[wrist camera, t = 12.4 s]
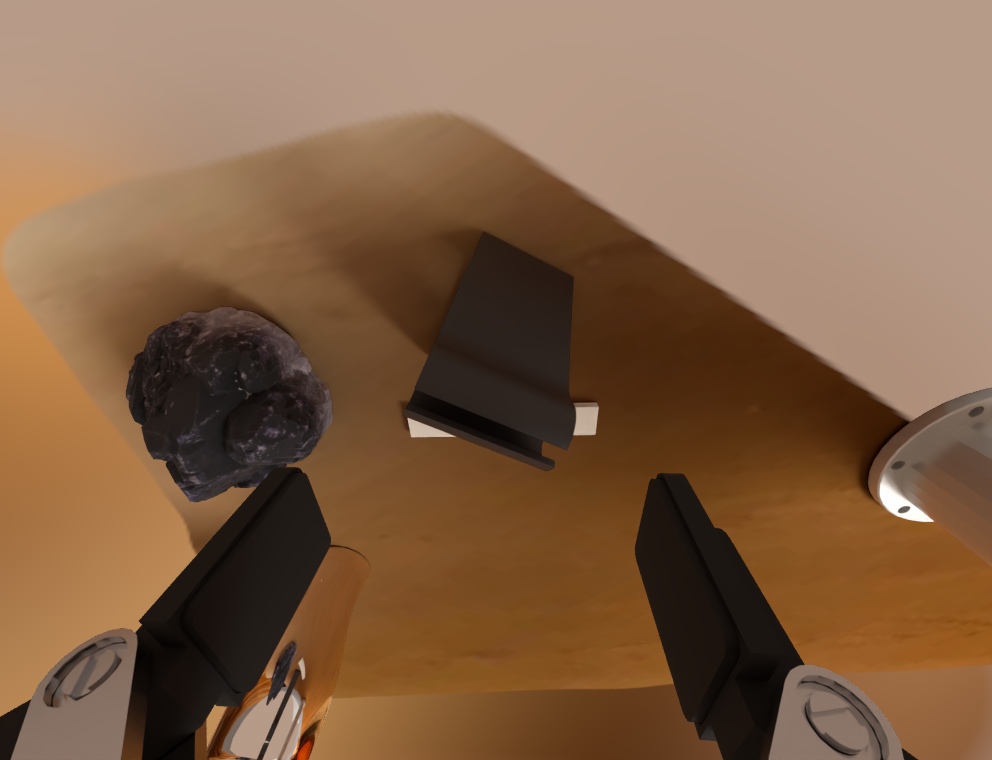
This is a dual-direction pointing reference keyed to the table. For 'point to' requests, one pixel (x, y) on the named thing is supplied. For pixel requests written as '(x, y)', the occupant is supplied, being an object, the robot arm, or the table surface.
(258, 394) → the black rock
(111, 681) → the robot arm
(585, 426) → the cream panel
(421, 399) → the phone stand
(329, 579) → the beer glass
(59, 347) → the table surface
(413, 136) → the table surface
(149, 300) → the table surface
